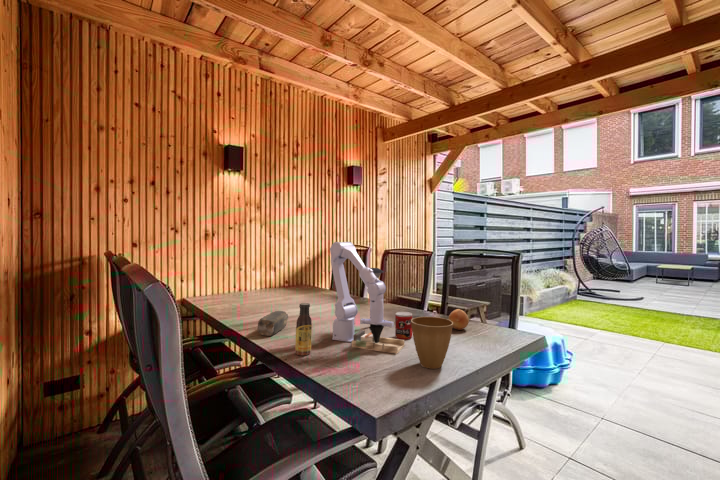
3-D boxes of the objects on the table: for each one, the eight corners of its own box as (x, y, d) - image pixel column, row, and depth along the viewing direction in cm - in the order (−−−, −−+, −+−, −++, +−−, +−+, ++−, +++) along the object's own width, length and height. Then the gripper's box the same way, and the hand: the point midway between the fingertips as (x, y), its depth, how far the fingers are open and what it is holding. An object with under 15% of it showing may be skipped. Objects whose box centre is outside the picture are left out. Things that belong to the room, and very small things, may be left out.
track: (351, 346, 142) (351, 335, 142) (361, 340, 151) (361, 329, 151) (397, 353, 134) (397, 341, 134) (404, 346, 143) (404, 334, 143)
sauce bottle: (298, 357, 130) (297, 305, 130) (293, 352, 135) (293, 303, 135) (314, 354, 133) (314, 304, 133) (308, 349, 138) (308, 301, 138)
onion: (445, 327, 173) (445, 307, 173) (463, 326, 174) (463, 307, 174) (452, 332, 163) (452, 311, 163) (472, 331, 164) (472, 311, 164)
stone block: (288, 327, 176) (269, 325, 176) (289, 310, 176) (270, 309, 176) (277, 338, 156) (255, 336, 156) (278, 319, 156) (256, 317, 156)
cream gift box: (360, 344, 143) (360, 335, 143) (365, 340, 148) (365, 331, 148) (371, 345, 141) (371, 336, 140) (376, 341, 146) (376, 333, 146)
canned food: (393, 338, 153) (393, 314, 153) (398, 334, 161) (398, 311, 160) (409, 340, 150) (409, 316, 150) (413, 335, 158) (414, 312, 158)
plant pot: (445, 376, 112) (445, 328, 112) (404, 367, 120) (404, 322, 120) (458, 362, 124) (458, 319, 124) (420, 355, 132) (420, 314, 132)
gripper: (357, 310, 142) (357, 342, 142) (389, 313, 136) (389, 347, 136) (363, 307, 148) (363, 338, 148) (395, 310, 142) (395, 342, 142)
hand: (376, 342), depth 143 cm, fingers closed
